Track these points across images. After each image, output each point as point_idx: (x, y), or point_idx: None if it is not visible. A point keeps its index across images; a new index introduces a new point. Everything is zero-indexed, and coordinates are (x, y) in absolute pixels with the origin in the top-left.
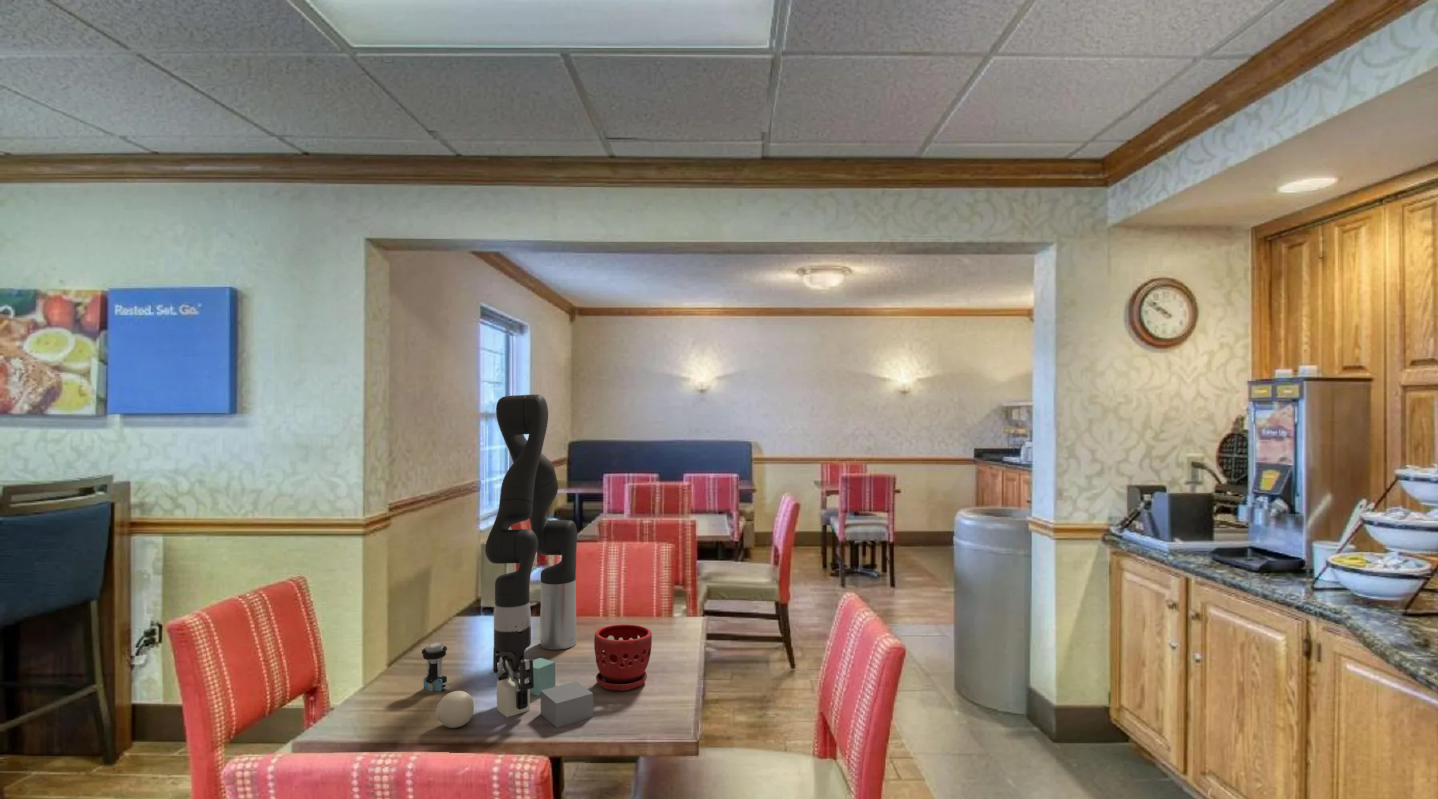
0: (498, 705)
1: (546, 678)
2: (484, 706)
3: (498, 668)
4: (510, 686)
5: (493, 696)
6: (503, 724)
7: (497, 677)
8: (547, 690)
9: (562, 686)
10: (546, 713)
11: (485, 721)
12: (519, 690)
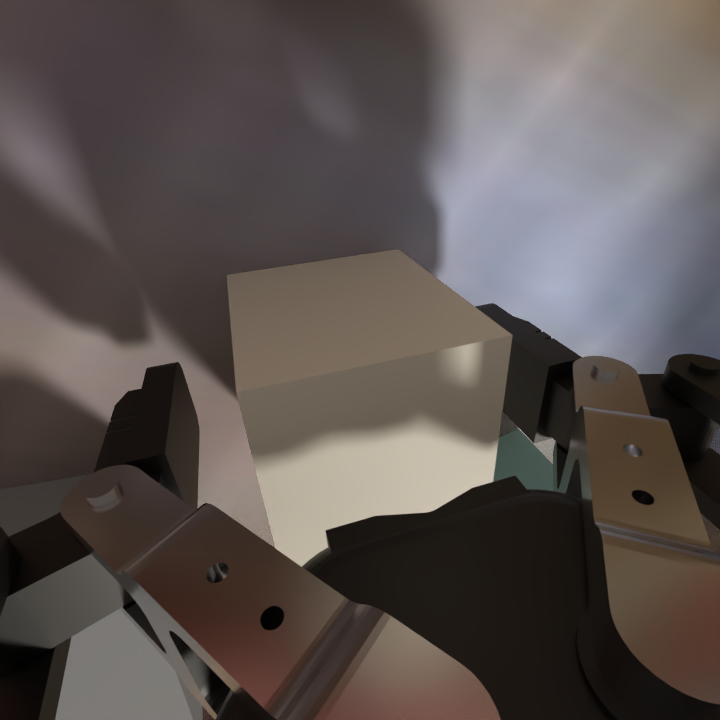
0: (386, 263)
1: None
2: (502, 190)
3: (636, 434)
4: (271, 431)
5: (582, 284)
6: (98, 211)
7: (597, 361)
8: (120, 636)
9: (154, 700)
10: (49, 505)
11: (243, 96)
12: (69, 499)
